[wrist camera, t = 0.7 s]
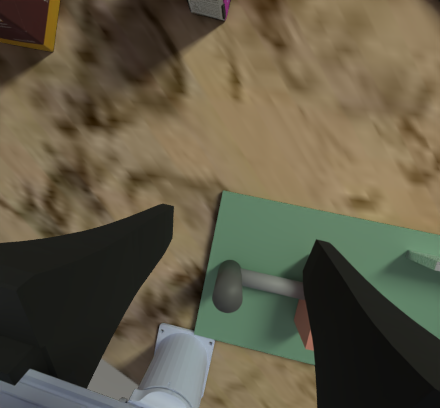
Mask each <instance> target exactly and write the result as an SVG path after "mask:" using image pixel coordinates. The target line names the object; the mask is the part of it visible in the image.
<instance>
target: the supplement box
mask: <svg viewBox="0 0 440 408" xmlns="http://www.w3.org/2000/svg"><path fill="white" fill-rule="evenodd" d="M59 6H60V0H0V42H2V43H7V44H12V45H17V46H23V47H28V48H33V49H39V50H44V51H50V52H53V51H54V43H55V36H56V28H57V21H58V13H59Z"/></svg>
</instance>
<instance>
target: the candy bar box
mask: <svg viewBox="0 0 440 408" xmlns="http://www.w3.org/2000/svg"><path fill="white" fill-rule="evenodd" d="M230 1H231V0H187V2H188V5H189V9H190V12H191V13H194V14H197V15H202V16H208V17H211V18H215V19H219V20H223V21H225V20H226V17H227V13H228V9H229V5H230Z"/></svg>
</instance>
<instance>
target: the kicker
mask: <svg viewBox="0 0 440 408" xmlns="http://www.w3.org/2000/svg"><path fill="white" fill-rule="evenodd" d="M242 286H246V287H250V288H254V289H258V290H263V291H267V292H271V293H276V294H280V295H284V296H288V297H293V298H297V299H299V301H298V305H297V309H296V313H295V317H294V322H295V325H296V327H297V330H298V332H299V335H300V337H301V340H302V342H303V344H304V347H305V349H308V350H312V351H314V348H313V341H312V334H311V329H310V324H309V318H308V313H307V308H306V302H305V296H304V290H303V282H299V281H295V280H290V279H286V278H282V277H277V276H273V275H268V274H264V273H260V272H255V271H251V270H247V269H242V268H241V266H240V265H239V263H237V262H236V261H234V260H226V261H224V262H222V263H221V265H220V266H219V270H218V274H217V278H216V282H215V286H214V291H213V295H212V301H213V304H214V306H215V307H216V308H217V309H218V310H219V311H221V312H224V313H233V312H235V311H237V310H238V309H239V308H240V306H241V305H242V301H243V294H242Z"/></svg>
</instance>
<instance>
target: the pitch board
mask: <svg viewBox="0 0 440 408" xmlns="http://www.w3.org/2000/svg"><path fill="white" fill-rule="evenodd" d="M316 239H317V240H322V241H326V242H330V243H331V244H332V245H333V246H334V247H335V248H336V249H337V250H338V251H339V252H340V253H341V254H342V255H343V256H344V257H345V258H346V259H347V261H348V262H349V263H350V264H351V265H352V266H353V267H354V268H355V269H356V270H357V271H358V272H359V273H360V274H361V275H362V276H363V277H364V278H365V279H366V280H367V281H368V282H369V283H370V284H372V285H373V286H374V287H375V288H376V289H377V290H378V291H379V292H380V293H381V294H382V295H383V296H385V297H386V298H387V299H388V300H389V301H390V302H392V303H393V304H394V305H395V306H396V307H398V308H399V309H400V310H401V311H403V312H404V313H405V314H406V315H408V316H409V317H410V318H411V319H413V320H414V321H415V322H417V323H418V324H419V325H421V326H422V327H423V328H425V329H426V330H428V331H429V332H430V333H432V334H433V335H434V336H436V337H437V338H438V339H440V271H436V270H433V269H431V268H428V267H426V266H424V265H421V264H419V263H417V262H414V261H412V260H410V259H408V258H406V255H407V252H408V250H411V251H416V252H420V253H425V254H430V255H435V256H439V257H440V235H437V234H432V233H427V232H422V231H418V230H413V229H408V228H403V227H398V226H393V225H388V224H384V223H379V222H374V221H369V220H364V219H359V218H355V217H350V216H345V215H340V214H335V213H330V212H325V211H321V210H316V209H311V208H306V207H301V206H296V205H291V204H287V203H282V202H277V201H272V200H267V199H262V198H258V197H253V196H248V195H243V194H238V193H233V192H228V191H223V194H222V199H221V203H220V208H219V213H218V218H217V223H216V228H215V233H214V238H213V243H212V248H211V253H210V257H209V262H208V267H207V272H206V277H205V282H204V287H203V292H202V297H201V302H200V307H199V311H198V316H197V321H196V326H195V331H194V335H198V336H202V337H206V338H210V339H214V340H218V341H222V342H226V343H229V344H233V345H237V346H241V347H245V348H249V349H253V350H257V351H261V352H265V353H269V354H273V355H277V356H281V357H285V358H289V359H293V360H297V361H301V362H305V363H309V364H313V365H315V360H314V351H312V350H308V349H305V347H304V344H303V342H302V340H301V337H300V335H299V332H298V330H297V327H296V325H295V322H294V317H295V313H296V309H297V305H298V301H299V299H297V298H293V297H288V296H284V295H280V294H276V293H271V292H267V291H263V290H258V289H254V288H250V287H246V286H242V294H243V301H242V305H241V306H240V308H239V309H238V310H237V311H235V312H233V313H224V312H221V311H219V310H218V309H217V308H216V307H215V306H214V304H213V301H212V295H213V291H214V286H215V282H216V278H217V274H218V270H219V266H220V265H221V263H222V262H224V261H226V260H234V261H236V262H237V263H239V265H240V266H241V268H242V269H247V270H251V271H255V272H260V273H264V274H268V275H273V276H277V277H282V278H286V279H290V280H295V281H299V282H303V269H304V266H305V264H306V262H307V259H308V257H309V255H310V252H311V250H312V248H313V245H314V243H315V241H316Z"/></svg>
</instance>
